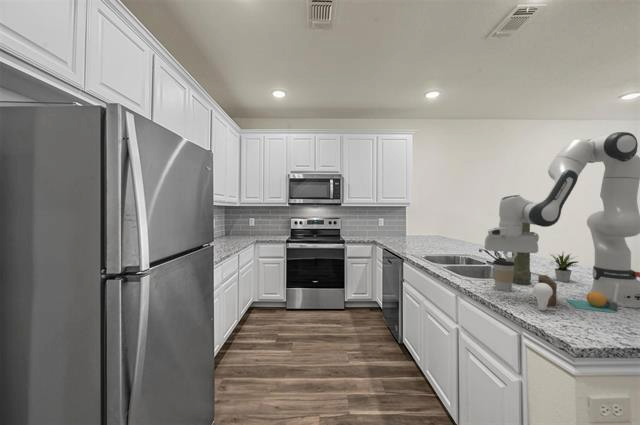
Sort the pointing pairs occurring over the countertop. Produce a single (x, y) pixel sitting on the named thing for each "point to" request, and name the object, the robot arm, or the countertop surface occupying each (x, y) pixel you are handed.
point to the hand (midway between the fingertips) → (510, 261)
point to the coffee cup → (503, 274)
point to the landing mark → (588, 306)
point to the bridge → (553, 285)
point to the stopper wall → (611, 305)
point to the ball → (596, 299)
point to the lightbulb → (542, 294)
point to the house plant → (563, 268)
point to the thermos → (522, 264)
